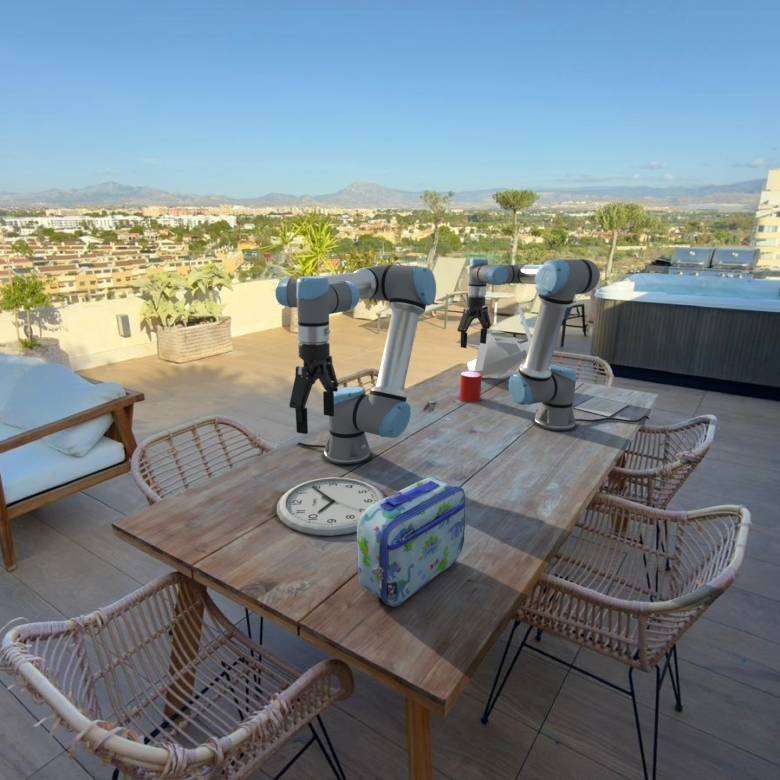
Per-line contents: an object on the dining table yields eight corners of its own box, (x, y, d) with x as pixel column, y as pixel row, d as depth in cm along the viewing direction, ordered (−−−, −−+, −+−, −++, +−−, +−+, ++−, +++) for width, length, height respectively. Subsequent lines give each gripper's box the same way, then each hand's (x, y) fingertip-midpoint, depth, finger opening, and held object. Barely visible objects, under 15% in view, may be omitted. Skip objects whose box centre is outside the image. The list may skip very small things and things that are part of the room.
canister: (475, 395, 239) (476, 370, 236) (483, 401, 231) (485, 376, 227) (456, 396, 237) (457, 371, 234) (464, 402, 229) (465, 377, 225)
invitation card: (608, 416, 214) (573, 407, 224) (608, 416, 214) (573, 408, 224) (628, 404, 229) (594, 396, 238) (628, 405, 229) (594, 397, 238)
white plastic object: (487, 418, 267) (468, 395, 242) (469, 346, 289) (449, 318, 264) (558, 394, 255) (545, 368, 230) (533, 321, 277) (518, 289, 252)
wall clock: (392, 527, 129) (268, 531, 127) (391, 533, 130) (269, 537, 127) (383, 473, 158) (282, 475, 155) (383, 478, 158) (282, 480, 156)
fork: (420, 410, 217) (420, 406, 216) (430, 399, 231) (431, 395, 231) (426, 411, 216) (426, 406, 216) (436, 400, 231) (436, 395, 230)
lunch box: (386, 620, 101) (388, 525, 95) (350, 593, 108) (349, 503, 102) (468, 563, 119) (474, 480, 112) (432, 543, 126) (436, 464, 120)
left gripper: (300, 354, 114) (303, 443, 121) (350, 334, 136) (350, 410, 143) (271, 350, 117) (275, 438, 123) (325, 331, 139) (326, 406, 145)
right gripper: (487, 293, 231) (483, 340, 237) (450, 297, 215) (448, 347, 221) (501, 294, 226) (497, 342, 232) (465, 299, 209) (462, 351, 216)
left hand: (316, 423), depth 133 cm, fingers open, 13 cm apart
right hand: (473, 345), depth 227 cm, fingers open, 13 cm apart
